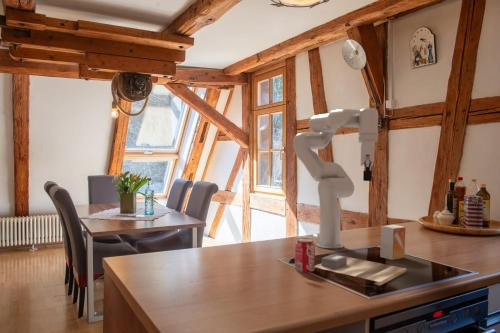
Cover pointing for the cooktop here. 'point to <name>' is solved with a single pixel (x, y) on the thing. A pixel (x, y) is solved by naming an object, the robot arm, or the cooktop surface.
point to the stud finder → (334, 261)
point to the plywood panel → (368, 270)
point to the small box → (392, 242)
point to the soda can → (304, 255)
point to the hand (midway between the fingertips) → (367, 180)
